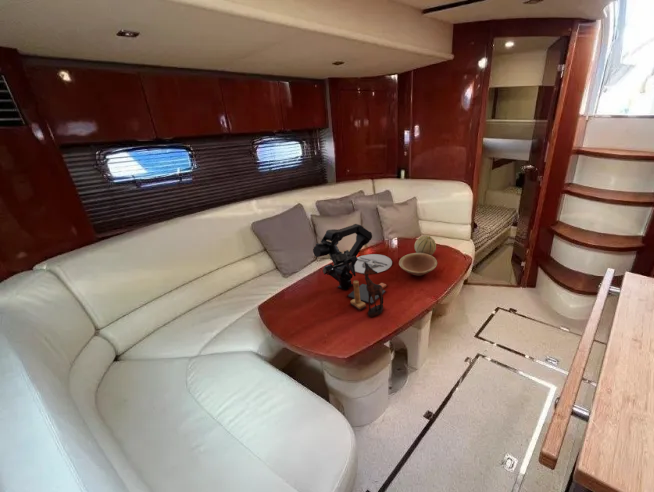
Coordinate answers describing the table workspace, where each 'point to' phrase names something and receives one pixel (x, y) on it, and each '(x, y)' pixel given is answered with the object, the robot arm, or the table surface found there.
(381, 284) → the block
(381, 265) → the plate
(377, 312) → the statue
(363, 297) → the board
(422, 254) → the bowl
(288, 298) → the table surface
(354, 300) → the tan wooden tall post
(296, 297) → the table surface
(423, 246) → the cantaloupe
